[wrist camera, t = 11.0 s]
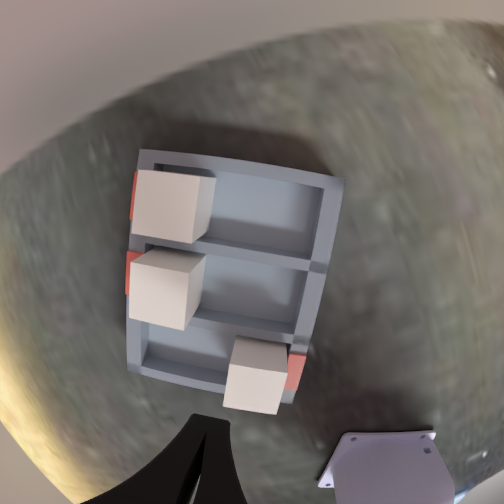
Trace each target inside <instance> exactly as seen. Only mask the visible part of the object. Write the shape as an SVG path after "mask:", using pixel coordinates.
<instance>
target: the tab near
mask: <svg viewBox="0 0 504 504" xmlns="http://www.w3.org/2000/svg"><path fill="white" fill-rule="evenodd" d="M215 185H216V178H214V177H207V176H199V175H191V174H184V173H175V172H167V171H154V170H139V169H138V175H137V183H136V191H135V200H134V210H133V220H132V232H131V233H133V234H138V235H144V236H150V237H156V238H162V239H167V240H173V241H179V242H185V243H190V244H192V243H193V242H194V241H196V240H197V239H198V238H199V237H201V236H202V235H203V234H205V233H206V232H207V231H209V226H210V219H211V212H212V205H213V198H214V191H215Z"/></svg>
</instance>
